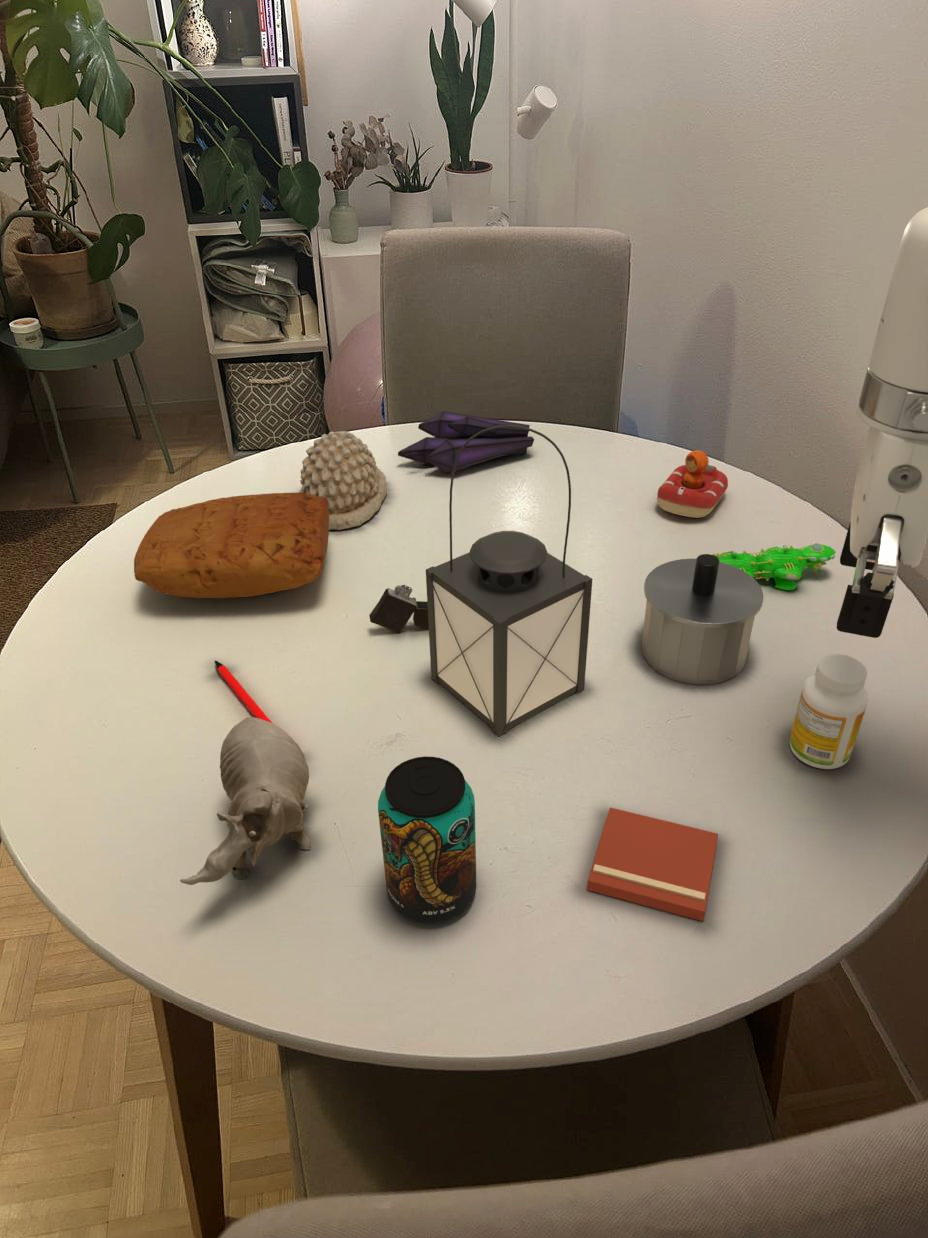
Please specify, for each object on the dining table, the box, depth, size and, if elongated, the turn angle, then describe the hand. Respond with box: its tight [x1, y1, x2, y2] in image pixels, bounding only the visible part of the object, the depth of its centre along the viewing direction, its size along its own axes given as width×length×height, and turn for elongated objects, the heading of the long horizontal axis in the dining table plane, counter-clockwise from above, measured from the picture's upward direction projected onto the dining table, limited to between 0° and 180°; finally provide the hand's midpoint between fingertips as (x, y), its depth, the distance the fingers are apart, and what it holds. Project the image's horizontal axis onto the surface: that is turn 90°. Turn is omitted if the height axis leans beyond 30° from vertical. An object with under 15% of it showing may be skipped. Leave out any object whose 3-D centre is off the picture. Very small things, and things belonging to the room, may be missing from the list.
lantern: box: [425, 425, 593, 737], centre depth 84 cm, size 11×11×28 cm
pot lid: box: [643, 553, 764, 628], centre depth 90 cm, size 12×12×5 cm
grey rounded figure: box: [179, 716, 312, 886], centre depth 74 cm, size 8×14×15 cm
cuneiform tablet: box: [133, 491, 330, 599], centre depth 107 cm, size 22×17×8 cm
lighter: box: [368, 584, 429, 634], centre depth 99 cm, size 8×2×5 cm
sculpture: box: [299, 430, 388, 531], centre depth 121 cm, size 12×17×10 cm
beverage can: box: [377, 755, 478, 924], centre depth 68 cm, size 7×7×12 cm
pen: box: [214, 660, 273, 723], centre depth 89 cm, size 1×19×1 cm, turn 36°
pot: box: [641, 599, 756, 686], centre depth 93 cm, size 11×11×8 cm
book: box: [586, 807, 719, 922], centre depth 73 cm, size 9×8×2 cm
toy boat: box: [656, 449, 729, 519], centre depth 119 cm, size 8×12×8 cm, turn 150°
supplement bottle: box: [789, 653, 869, 770], centre depth 81 cm, size 5×5×10 cm
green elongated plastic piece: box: [711, 542, 836, 591], centre depth 105 cm, size 7×18×4 cm, turn 99°
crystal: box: [397, 410, 535, 475], centre depth 132 cm, size 7×12×20 cm
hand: (858, 597), depth 74 cm, fingers open, 9 cm apart
